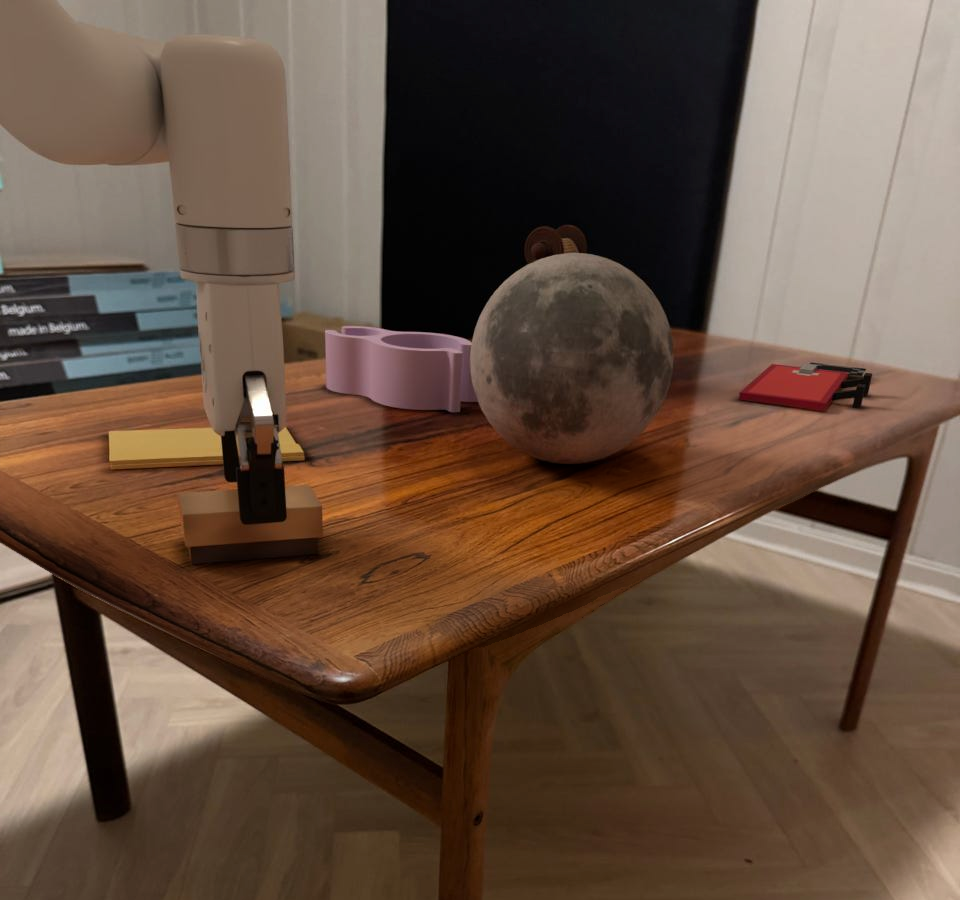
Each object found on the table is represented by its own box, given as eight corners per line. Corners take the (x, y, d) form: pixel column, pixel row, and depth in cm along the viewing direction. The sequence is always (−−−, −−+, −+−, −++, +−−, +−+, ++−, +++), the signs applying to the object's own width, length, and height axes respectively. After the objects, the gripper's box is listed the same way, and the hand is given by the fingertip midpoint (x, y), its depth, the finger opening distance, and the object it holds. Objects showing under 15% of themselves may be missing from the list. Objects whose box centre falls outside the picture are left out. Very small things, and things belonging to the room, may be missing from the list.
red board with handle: (878, 376, 147) (779, 365, 153) (882, 357, 146) (782, 347, 152) (853, 418, 123) (738, 402, 129) (858, 396, 122) (741, 381, 128)
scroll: (568, 400, 123) (584, 232, 114) (471, 381, 130) (479, 222, 121) (615, 382, 135) (633, 228, 126) (524, 366, 141) (535, 219, 132)
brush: (187, 566, 70) (182, 514, 68) (182, 541, 74) (177, 492, 72) (323, 555, 73) (322, 505, 71) (311, 532, 77) (309, 484, 75)
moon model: (447, 434, 105) (455, 239, 96) (617, 432, 110) (639, 246, 101) (491, 493, 88) (506, 262, 79) (690, 488, 93) (725, 269, 84)
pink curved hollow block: (307, 391, 120) (305, 334, 116) (360, 375, 130) (360, 322, 127) (447, 416, 112) (450, 356, 109) (493, 397, 122) (496, 341, 119)
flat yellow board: (110, 469, 88) (109, 461, 88) (109, 435, 98) (108, 427, 98) (304, 460, 94) (304, 452, 94) (284, 428, 104) (284, 421, 104)
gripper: (169, 242, 70) (192, 469, 77) (188, 270, 55) (214, 546, 63) (273, 243, 72) (285, 463, 80) (317, 270, 58) (327, 536, 65)
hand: (254, 499), depth 71 cm, fingers open, 9 cm apart
